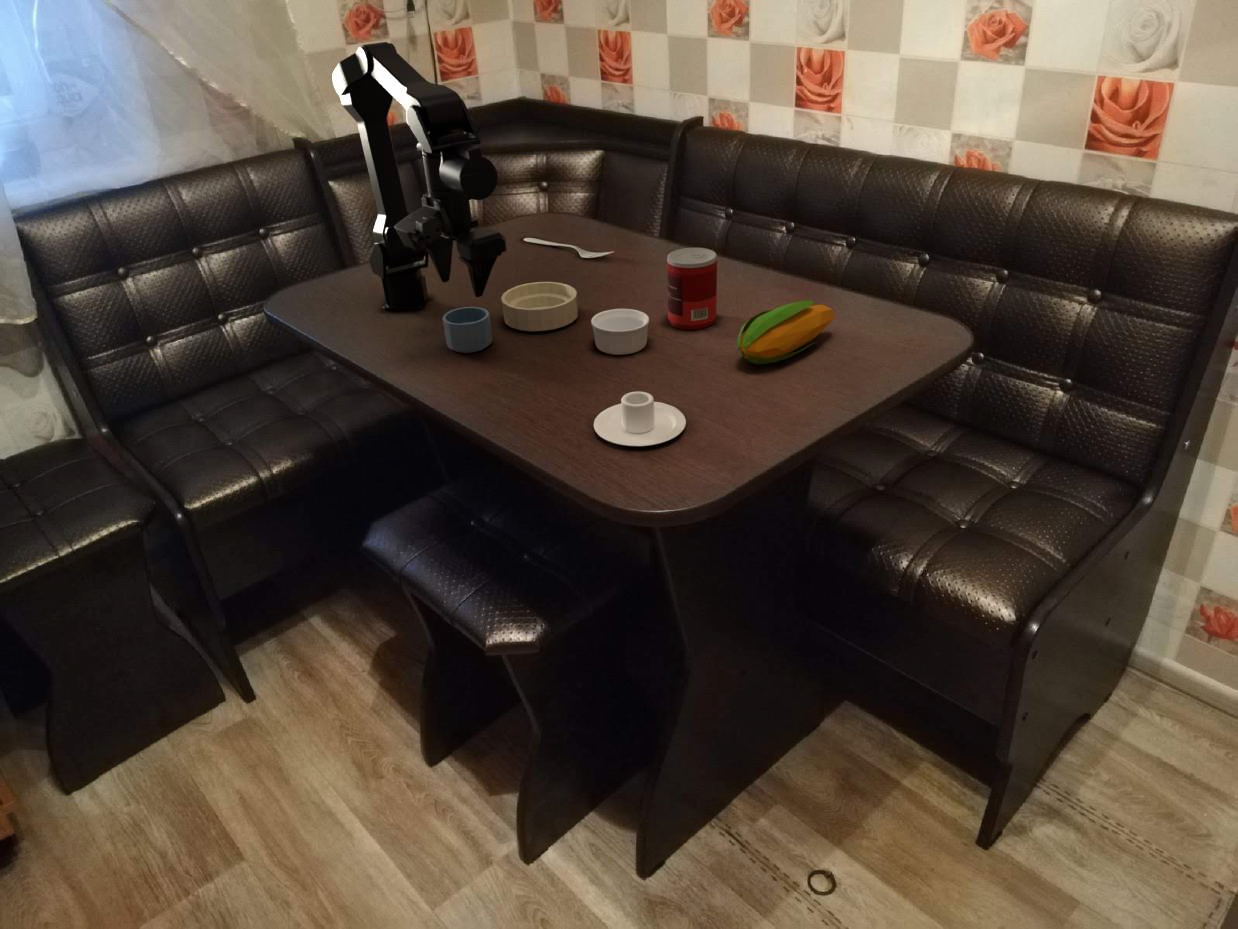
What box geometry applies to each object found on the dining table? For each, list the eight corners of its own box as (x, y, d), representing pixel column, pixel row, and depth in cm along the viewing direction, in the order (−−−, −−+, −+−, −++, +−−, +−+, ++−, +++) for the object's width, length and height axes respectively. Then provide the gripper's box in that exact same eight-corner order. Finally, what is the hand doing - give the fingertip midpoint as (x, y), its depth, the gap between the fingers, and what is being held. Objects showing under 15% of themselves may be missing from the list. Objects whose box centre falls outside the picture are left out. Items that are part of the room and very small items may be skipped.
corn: (724, 315, 131) (814, 278, 142) (721, 362, 135) (808, 323, 146) (763, 333, 127) (853, 293, 137) (758, 381, 131) (846, 339, 142)
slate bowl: (443, 355, 143) (438, 325, 140) (452, 336, 149) (448, 307, 146) (488, 354, 142) (484, 324, 140) (496, 335, 148) (492, 306, 146)
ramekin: (621, 328, 148) (620, 303, 146) (661, 343, 143) (661, 317, 140) (580, 346, 143) (579, 320, 141) (621, 362, 138) (619, 335, 135)
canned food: (724, 316, 151) (725, 250, 145) (701, 334, 145) (701, 266, 139) (683, 308, 154) (682, 244, 149) (659, 325, 149) (657, 259, 143)
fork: (530, 237, 191) (529, 228, 190) (616, 259, 177) (616, 250, 176) (518, 241, 189) (517, 232, 188) (605, 264, 175) (604, 255, 174)
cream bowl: (498, 334, 149) (495, 310, 146) (510, 305, 159) (508, 282, 157) (574, 333, 148) (572, 308, 145) (581, 304, 158) (580, 280, 156)
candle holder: (675, 401, 126) (674, 372, 124) (695, 444, 116) (695, 414, 114) (588, 411, 125) (586, 382, 123) (601, 456, 115) (599, 425, 112)
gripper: (365, 186, 134) (384, 288, 142) (433, 210, 122) (450, 320, 130) (431, 170, 140) (446, 269, 149) (502, 192, 128) (514, 298, 136)
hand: (461, 288), depth 141 cm, fingers open, 9 cm apart
